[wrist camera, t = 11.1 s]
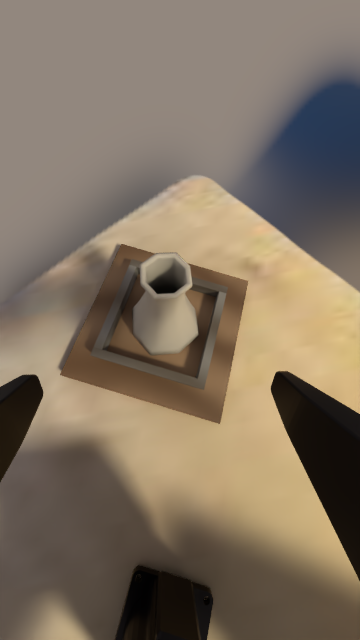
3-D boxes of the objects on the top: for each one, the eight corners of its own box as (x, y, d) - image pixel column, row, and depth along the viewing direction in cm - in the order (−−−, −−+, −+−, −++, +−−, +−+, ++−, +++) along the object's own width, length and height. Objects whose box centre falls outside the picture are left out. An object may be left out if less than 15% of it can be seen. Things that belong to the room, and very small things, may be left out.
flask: (145, 367, 19) (127, 354, 10) (121, 305, 21) (87, 244, 12) (209, 340, 21) (247, 305, 11) (182, 283, 23) (194, 212, 13)
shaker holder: (217, 421, 19) (224, 427, 17) (65, 375, 20) (51, 374, 17) (244, 285, 24) (253, 274, 22) (123, 249, 25) (118, 235, 22)
